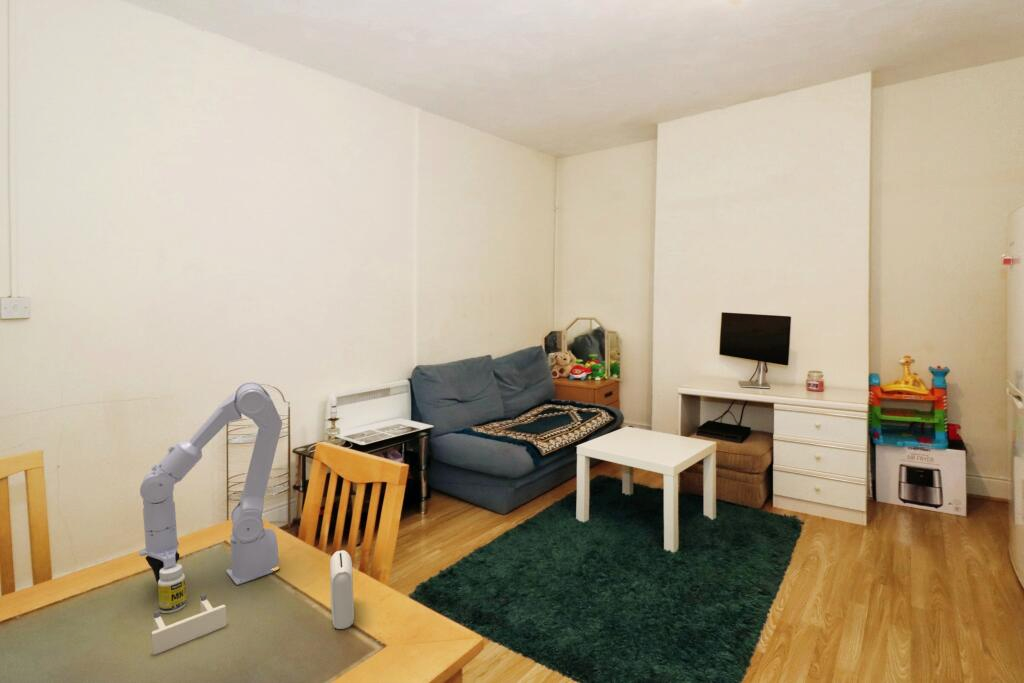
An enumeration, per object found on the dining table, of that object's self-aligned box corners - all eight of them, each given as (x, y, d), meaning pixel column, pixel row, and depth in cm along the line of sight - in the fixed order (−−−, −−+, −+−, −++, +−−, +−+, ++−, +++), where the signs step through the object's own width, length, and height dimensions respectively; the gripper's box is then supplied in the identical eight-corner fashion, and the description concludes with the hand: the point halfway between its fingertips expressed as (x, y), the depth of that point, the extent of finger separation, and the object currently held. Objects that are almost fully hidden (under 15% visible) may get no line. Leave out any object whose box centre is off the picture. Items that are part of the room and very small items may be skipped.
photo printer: (330, 602, 111) (328, 546, 110) (352, 598, 113) (350, 543, 112) (332, 632, 102) (329, 571, 101) (355, 627, 103) (353, 567, 102)
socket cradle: (214, 608, 109) (213, 589, 109) (226, 625, 104) (225, 606, 103) (145, 634, 101) (143, 614, 101) (154, 655, 95) (152, 634, 95)
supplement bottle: (173, 615, 107) (170, 575, 106) (153, 612, 108) (151, 573, 107) (192, 601, 112) (189, 563, 111) (173, 599, 113) (170, 561, 112)
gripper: (131, 521, 116) (135, 580, 117) (145, 544, 106) (149, 608, 107) (169, 511, 121) (172, 568, 122) (185, 532, 111) (189, 594, 112)
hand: (164, 586), depth 115 cm, fingers closed
